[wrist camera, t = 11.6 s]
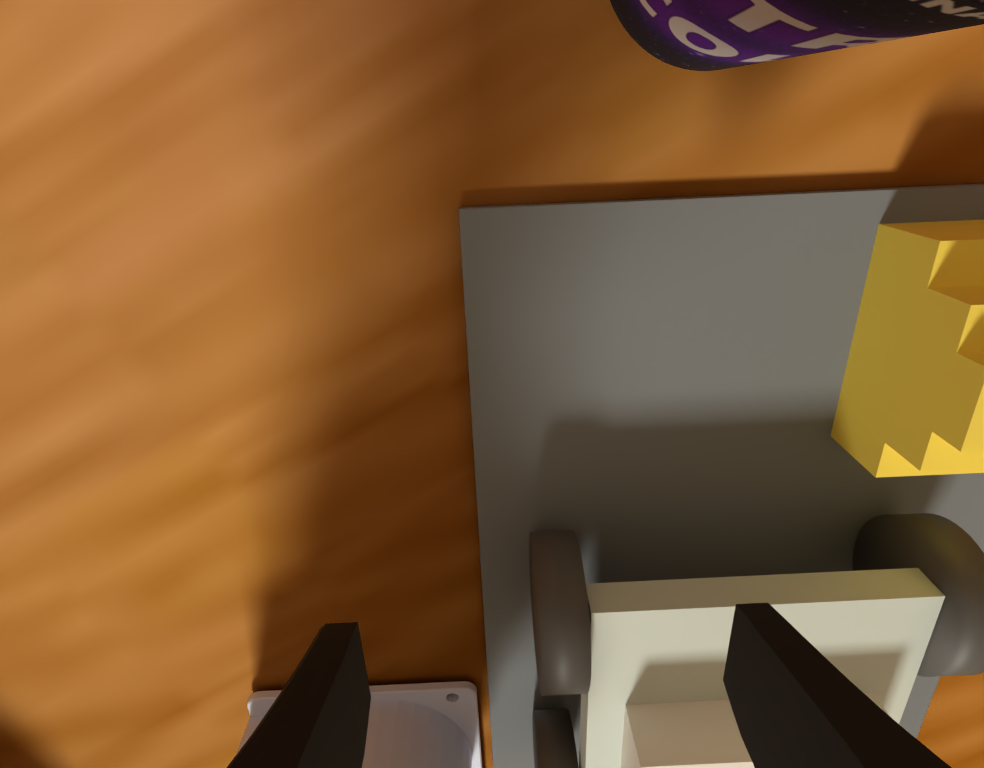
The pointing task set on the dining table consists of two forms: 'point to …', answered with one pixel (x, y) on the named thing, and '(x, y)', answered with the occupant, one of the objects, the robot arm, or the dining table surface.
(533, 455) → the mat
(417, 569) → the dining table surface
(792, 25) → the beverage can
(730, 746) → the trolley
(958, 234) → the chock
